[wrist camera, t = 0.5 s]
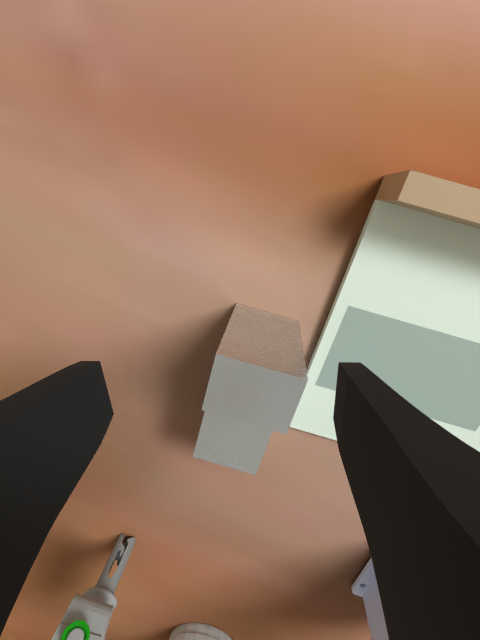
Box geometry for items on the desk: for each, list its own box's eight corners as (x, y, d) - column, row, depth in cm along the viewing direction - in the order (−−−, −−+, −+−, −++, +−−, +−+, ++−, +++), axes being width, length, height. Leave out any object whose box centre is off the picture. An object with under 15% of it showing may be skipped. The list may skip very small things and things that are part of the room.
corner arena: (505, 491, 22) (543, 541, 19) (283, 426, 23) (284, 465, 19) (694, 262, 16) (799, 279, 13) (384, 175, 16) (410, 169, 13)
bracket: (259, 430, 23) (251, 521, 17) (206, 415, 23) (178, 500, 17) (298, 320, 20) (308, 379, 13) (236, 302, 20) (215, 353, 13)
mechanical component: (103, 566, 31) (28, 723, 22) (121, 496, 27) (39, 651, 18) (132, 575, 31) (69, 737, 22) (154, 507, 27) (89, 668, 18)
